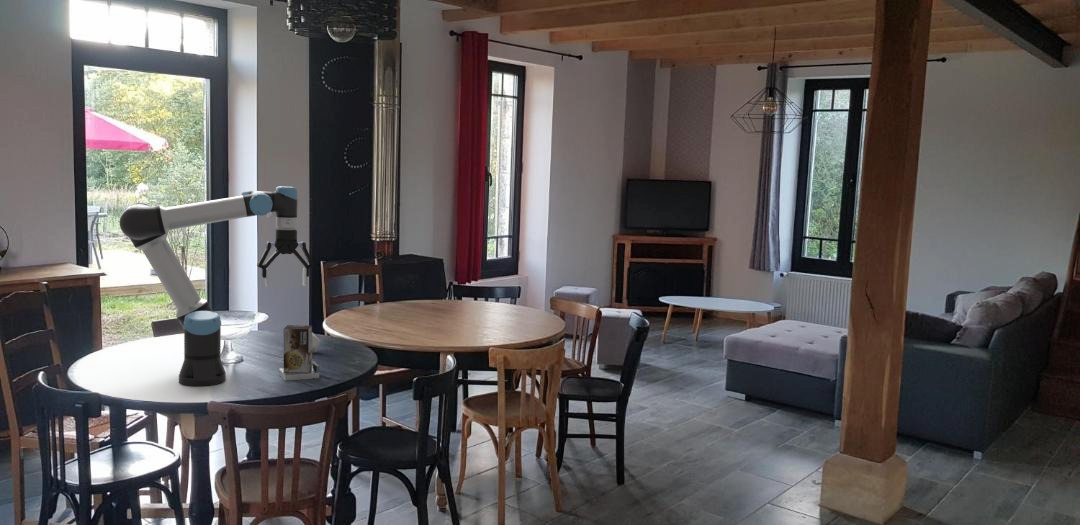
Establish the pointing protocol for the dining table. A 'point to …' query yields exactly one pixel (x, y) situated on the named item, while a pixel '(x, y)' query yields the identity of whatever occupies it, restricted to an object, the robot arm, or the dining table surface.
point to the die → (315, 343)
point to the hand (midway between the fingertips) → (285, 286)
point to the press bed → (298, 376)
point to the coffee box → (297, 348)
